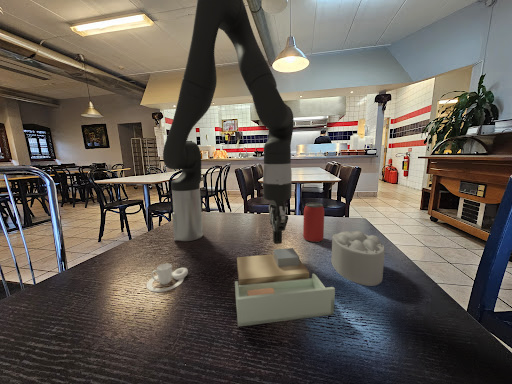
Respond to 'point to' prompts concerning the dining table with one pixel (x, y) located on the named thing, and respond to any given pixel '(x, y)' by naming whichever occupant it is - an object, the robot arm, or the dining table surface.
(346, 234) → the lumpy-topped squat cylinder
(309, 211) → the beer can
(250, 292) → the terracotta tile
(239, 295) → the tray
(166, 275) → the teacup and saucer
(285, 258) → the slate tile
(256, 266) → the board
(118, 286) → the dining table surface
